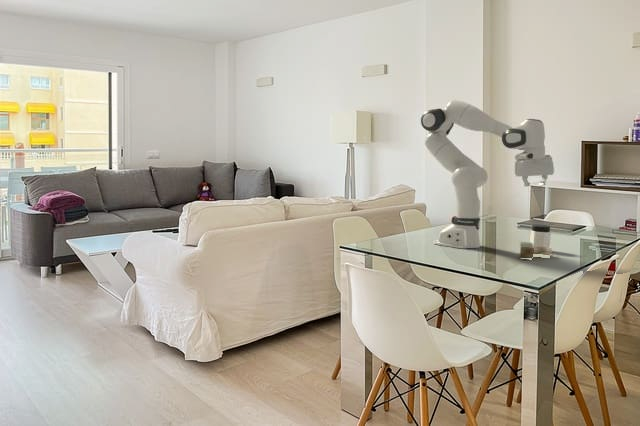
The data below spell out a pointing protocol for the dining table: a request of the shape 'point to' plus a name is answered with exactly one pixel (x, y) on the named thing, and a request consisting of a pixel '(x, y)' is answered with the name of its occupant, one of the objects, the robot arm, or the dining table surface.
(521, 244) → the sage cube
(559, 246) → the dining table surface
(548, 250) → the maple slab
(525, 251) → the walnut cube
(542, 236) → the jar
